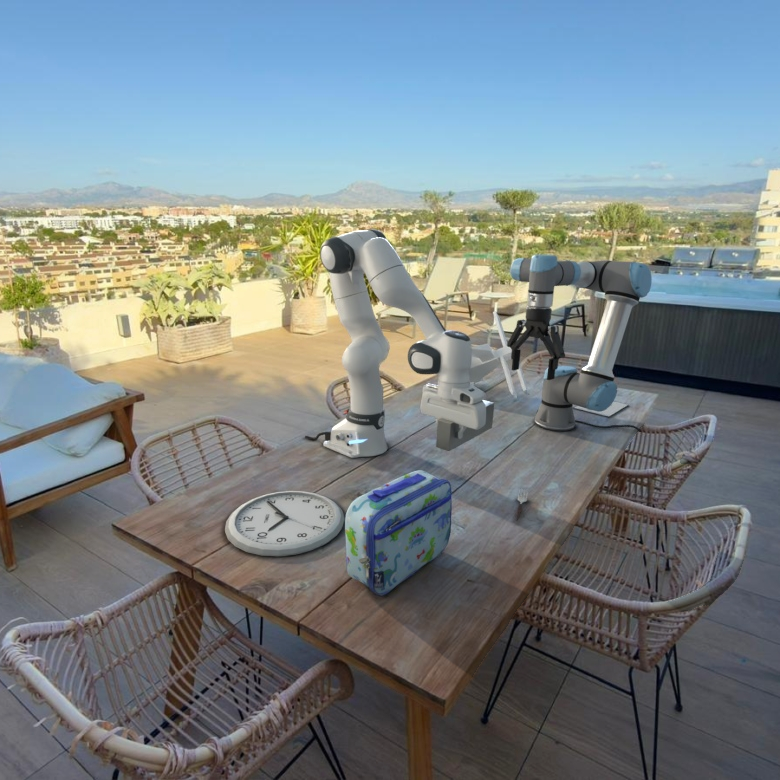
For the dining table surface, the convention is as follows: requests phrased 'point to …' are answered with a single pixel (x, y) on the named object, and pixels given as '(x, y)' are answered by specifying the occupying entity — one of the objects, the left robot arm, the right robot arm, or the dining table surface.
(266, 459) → the dining table surface
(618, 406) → the invitation card
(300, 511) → the wall clock
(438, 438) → the bar
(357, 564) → the lunch box
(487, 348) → the white plastic object
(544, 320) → the right robot arm
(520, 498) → the fork
